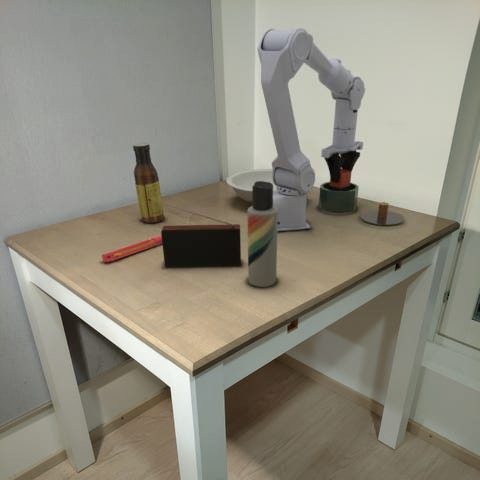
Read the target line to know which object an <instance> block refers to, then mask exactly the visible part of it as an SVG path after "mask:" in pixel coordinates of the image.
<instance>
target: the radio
mask: <svg viewBox="0 0 480 480" xmlns="http://www.w3.org/2000/svg"><path fill="white" fill-rule="evenodd" d="M148 200H149V201H153V200H151V199H148ZM153 202H156V201H153ZM157 203H159V202H157ZM160 204H163V205H164V206H166V207H170V208H174V209H177V210H180V211H183V212H186V213H190V214H192V215H196V216H200V217H203V218H205V219H209V220H213V221H214V222H215V221H216V222H219V223H222V224H189V225H188V224H185V225H183V224H182V225H181V224H179V225H163V226H162V228H161V231H160V234H161V236H162V253H163V261H164V267H165V268H213V267H215V268H217V267H218V268H219V267H222V268H223V267H240V266H241V265H242V250H241V247H242V245H241V241H242V240H241V225H240V224H238V223H237V224H235V223H234V224H233V223H230V222H226V221H223V220H220V219H217V218H213V217H211V216H206V215H203V214H199V213H197V212H193V211H189V210H186V209H183V208H181V207H177V206H173V205H169V204H166V203H163V202H162V203H160Z"/></svg>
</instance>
